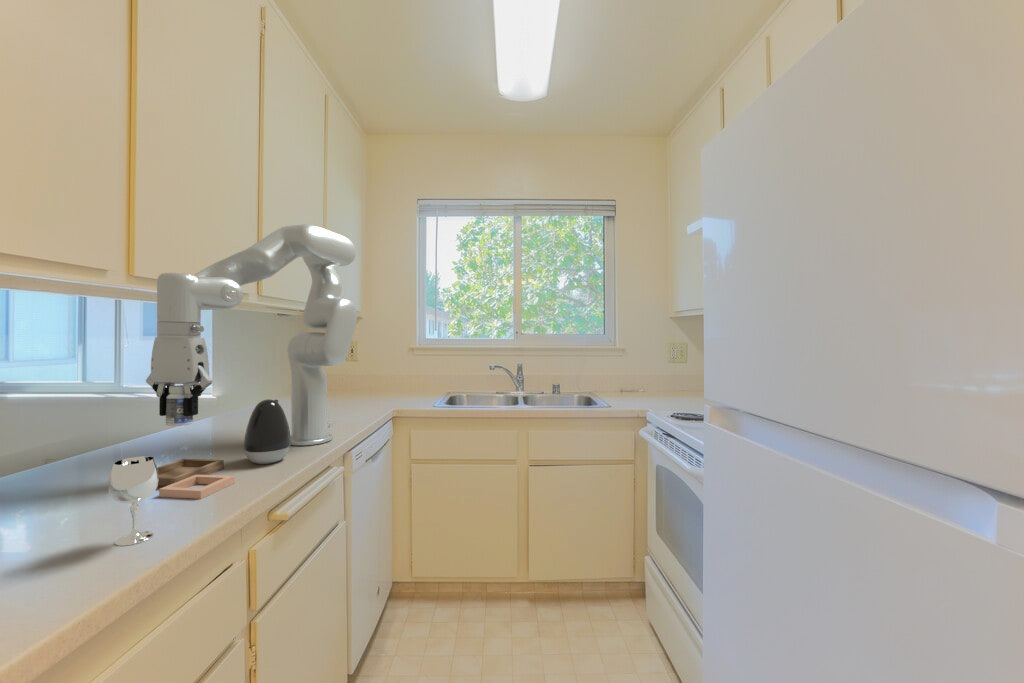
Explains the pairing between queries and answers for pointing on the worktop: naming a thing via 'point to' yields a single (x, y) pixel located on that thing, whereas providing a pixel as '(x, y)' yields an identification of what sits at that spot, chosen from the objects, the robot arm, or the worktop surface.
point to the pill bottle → (176, 407)
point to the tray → (186, 470)
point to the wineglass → (133, 490)
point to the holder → (182, 491)
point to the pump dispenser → (267, 433)
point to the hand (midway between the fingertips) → (179, 414)
